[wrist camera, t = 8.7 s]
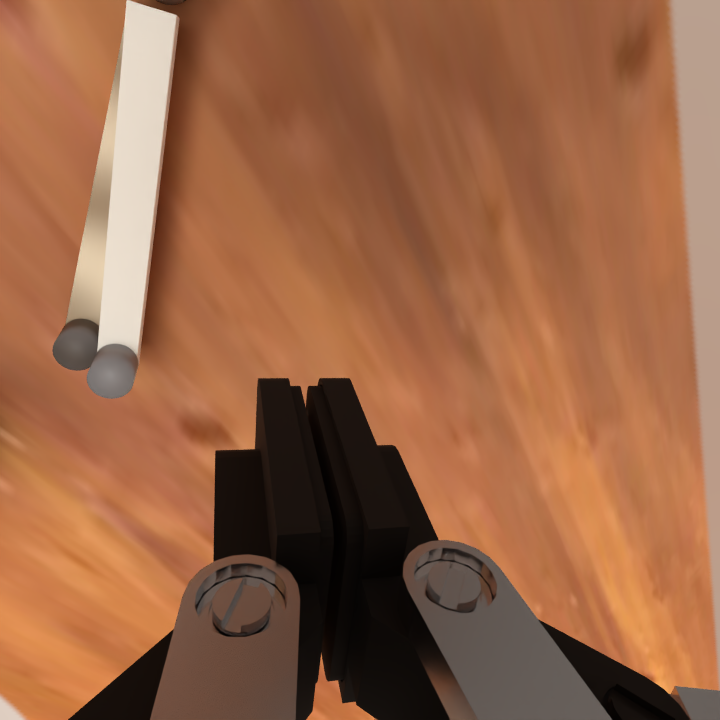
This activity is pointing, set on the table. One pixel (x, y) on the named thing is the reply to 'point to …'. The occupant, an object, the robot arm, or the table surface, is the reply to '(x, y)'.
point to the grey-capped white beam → (92, 251)
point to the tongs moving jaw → (134, 194)
